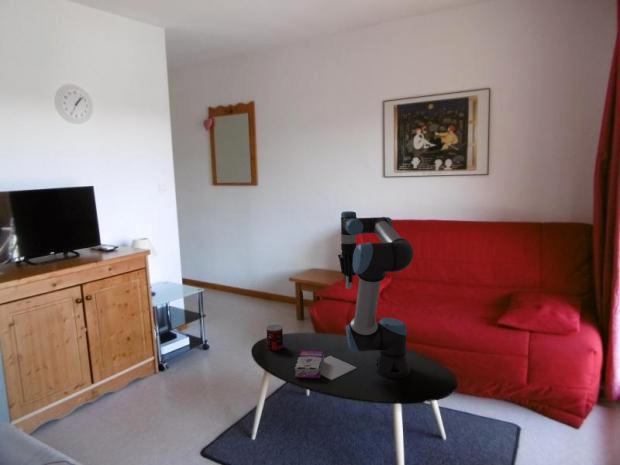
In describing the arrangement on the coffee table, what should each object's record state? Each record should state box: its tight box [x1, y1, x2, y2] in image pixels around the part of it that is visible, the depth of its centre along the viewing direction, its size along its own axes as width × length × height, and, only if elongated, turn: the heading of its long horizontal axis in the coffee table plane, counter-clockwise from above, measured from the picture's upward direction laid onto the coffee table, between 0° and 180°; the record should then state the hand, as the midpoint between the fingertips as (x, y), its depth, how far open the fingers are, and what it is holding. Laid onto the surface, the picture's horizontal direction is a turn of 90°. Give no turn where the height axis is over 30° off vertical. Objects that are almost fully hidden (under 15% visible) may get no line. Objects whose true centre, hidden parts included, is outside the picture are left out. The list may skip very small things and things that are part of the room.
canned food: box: [266, 324, 284, 352], centre depth 221 cm, size 8×8×11 cm
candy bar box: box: [294, 349, 325, 379], centre depth 197 cm, size 11×5×16 cm
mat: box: [320, 355, 357, 381], centre depth 199 cm, size 17×16×1 cm
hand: (348, 288), depth 221 cm, fingers closed
